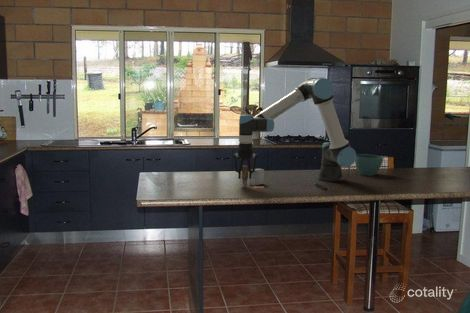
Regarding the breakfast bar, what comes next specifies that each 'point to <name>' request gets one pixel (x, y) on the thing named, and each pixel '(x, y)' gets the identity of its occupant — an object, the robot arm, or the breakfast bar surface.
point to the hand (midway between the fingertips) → (244, 184)
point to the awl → (244, 175)
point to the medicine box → (257, 177)
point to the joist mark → (258, 187)
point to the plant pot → (368, 164)
